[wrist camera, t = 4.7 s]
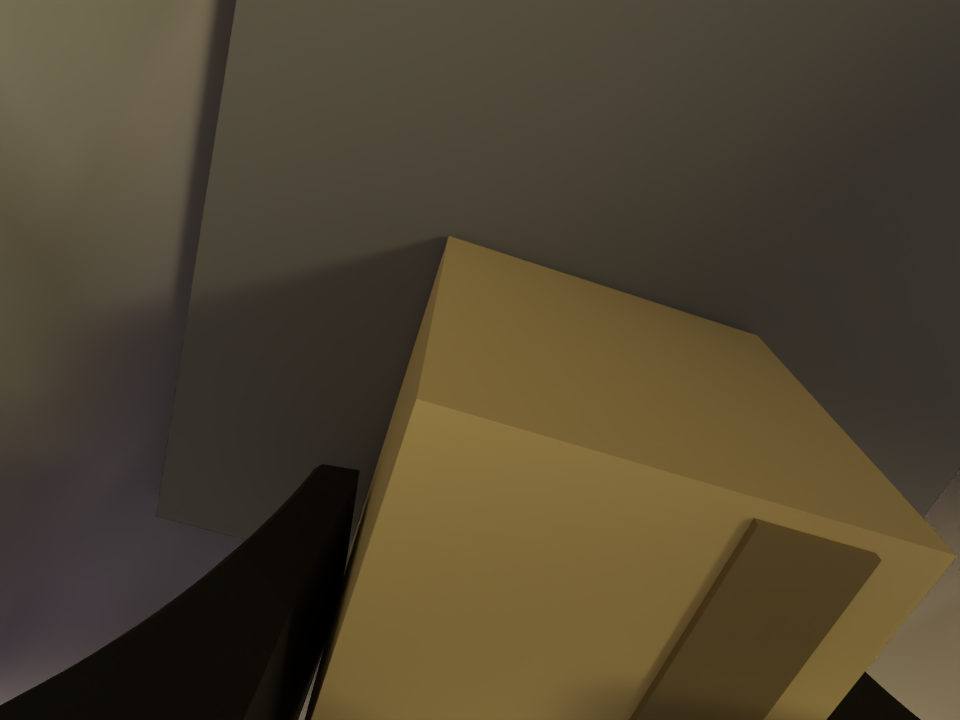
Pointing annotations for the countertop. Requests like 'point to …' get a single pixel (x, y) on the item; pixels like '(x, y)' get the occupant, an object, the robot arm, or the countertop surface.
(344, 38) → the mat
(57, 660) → the countertop surface
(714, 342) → the stub
